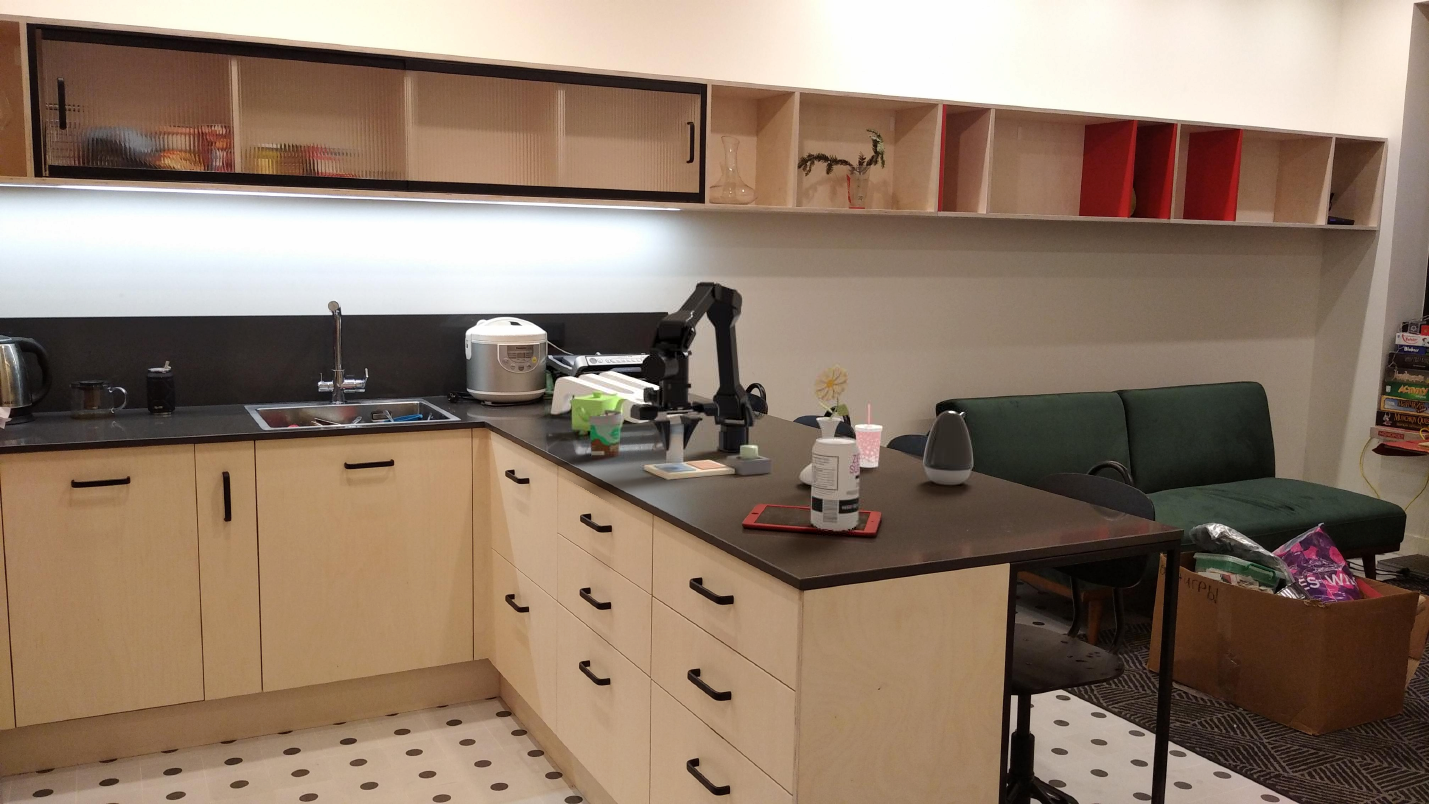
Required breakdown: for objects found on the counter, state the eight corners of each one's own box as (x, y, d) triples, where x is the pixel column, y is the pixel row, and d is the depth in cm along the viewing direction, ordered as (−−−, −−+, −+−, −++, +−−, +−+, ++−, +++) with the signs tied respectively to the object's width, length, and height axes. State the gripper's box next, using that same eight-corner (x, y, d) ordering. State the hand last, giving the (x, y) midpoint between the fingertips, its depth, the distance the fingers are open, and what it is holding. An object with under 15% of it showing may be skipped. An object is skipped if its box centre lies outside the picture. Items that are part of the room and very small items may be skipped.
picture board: (709, 464, 244) (709, 459, 244) (734, 473, 234) (734, 468, 234) (644, 469, 237) (644, 464, 237) (667, 479, 226) (667, 473, 226)
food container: (615, 460, 248) (615, 417, 247) (589, 459, 249) (589, 416, 248) (629, 451, 260) (629, 410, 259) (605, 450, 261) (605, 409, 260)
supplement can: (806, 520, 191) (808, 436, 189) (852, 520, 192) (855, 436, 190) (814, 532, 183) (816, 444, 181) (862, 531, 184) (865, 444, 182)
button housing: (754, 467, 241) (754, 454, 241) (770, 472, 235) (770, 459, 235) (727, 469, 238) (727, 456, 238) (742, 475, 232) (742, 461, 231)
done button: (752, 460, 239) (752, 444, 238) (760, 463, 235) (761, 447, 235) (737, 461, 237) (737, 445, 237) (745, 464, 234) (745, 448, 233)
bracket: (641, 404, 306) (556, 375, 321) (635, 444, 308) (550, 413, 324) (689, 396, 326) (606, 369, 342) (682, 434, 328) (600, 405, 344)
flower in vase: (789, 482, 225) (792, 362, 222) (838, 478, 229) (841, 361, 226) (818, 494, 213) (821, 368, 210) (869, 490, 217) (872, 366, 214)
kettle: (617, 428, 297) (617, 387, 295) (632, 436, 284) (632, 393, 282) (563, 430, 291) (563, 389, 290) (576, 438, 278) (576, 395, 277)
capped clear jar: (679, 459, 236) (679, 422, 235) (686, 462, 233) (686, 424, 232) (663, 461, 234) (663, 423, 233) (670, 463, 231) (670, 425, 230)
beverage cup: (880, 468, 241) (882, 406, 240) (853, 467, 243) (854, 405, 241) (882, 463, 247) (883, 403, 246) (855, 462, 248) (856, 402, 247)
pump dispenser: (982, 482, 227) (985, 410, 225) (955, 489, 219) (958, 415, 217) (940, 475, 234) (943, 406, 232) (912, 482, 226) (915, 410, 224)
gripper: (697, 372, 243) (696, 441, 245) (620, 376, 234) (620, 447, 236) (720, 377, 233) (719, 449, 235) (640, 381, 224) (640, 455, 226)
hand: (674, 450), depth 233 cm, fingers closed on capped clear jar, 4 cm apart
